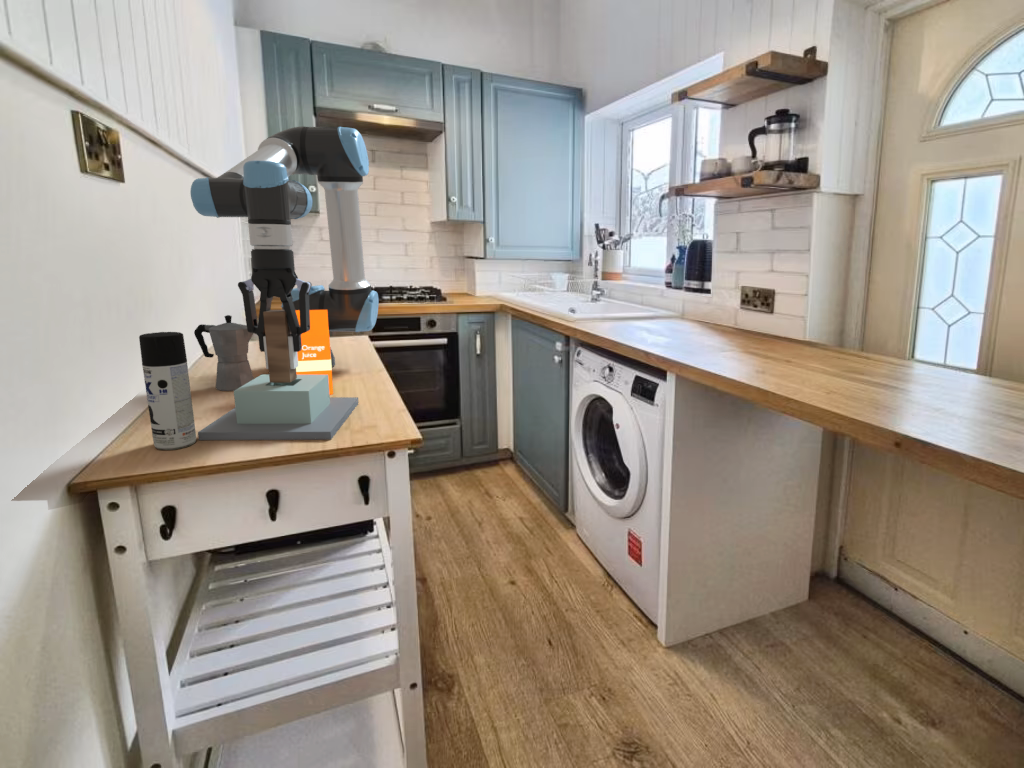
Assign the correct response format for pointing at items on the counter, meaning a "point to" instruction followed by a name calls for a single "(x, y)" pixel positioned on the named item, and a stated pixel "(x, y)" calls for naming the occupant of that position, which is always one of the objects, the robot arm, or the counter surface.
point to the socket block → (282, 411)
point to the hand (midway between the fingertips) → (282, 367)
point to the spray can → (168, 389)
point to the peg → (278, 347)
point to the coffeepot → (228, 353)
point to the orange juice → (316, 347)
